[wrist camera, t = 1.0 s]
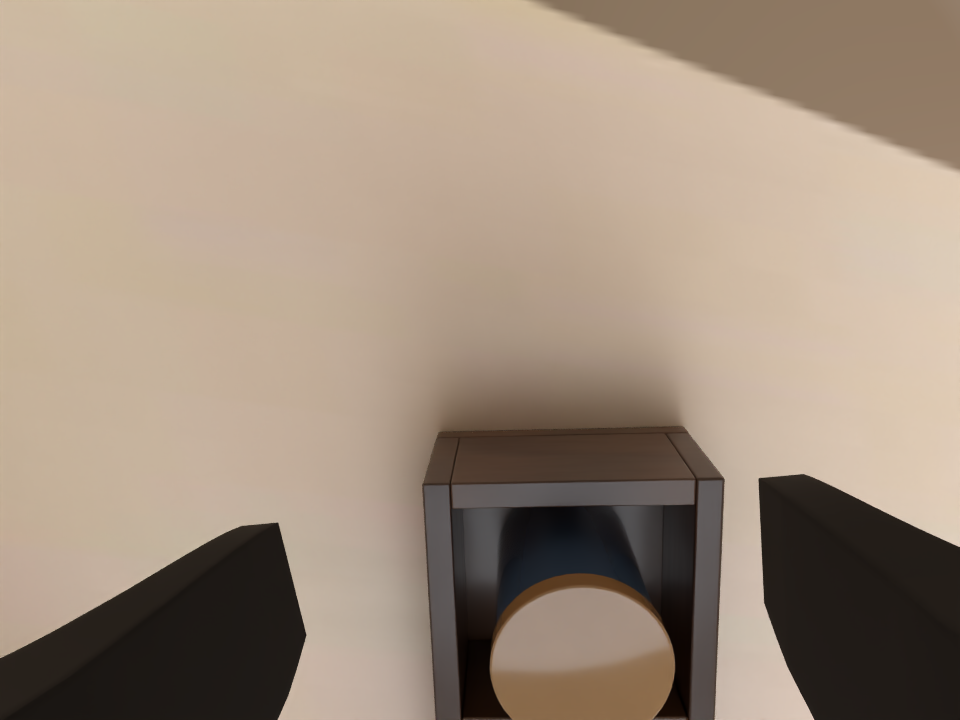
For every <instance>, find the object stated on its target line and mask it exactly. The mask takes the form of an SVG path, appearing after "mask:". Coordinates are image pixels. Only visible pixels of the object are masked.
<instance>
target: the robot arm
mask: <svg viewBox="0 0 960 720" xmlns="http://www.w3.org/2000/svg"><path fill="white" fill-rule="evenodd" d="M759 500H760V521H761V543H762V565H763V586H764V604H765V606H766V609H767V612H768V615H769V618H770V621H771V623H772V626H773V629H774V632H775V635H776V638H777V640H778V643H779V645H780V648H781V651H782V653H783V656H784V659H785V661H786V664H787V667H788V669H789V671H790V673H791V675H792V677H793V679H794V681H795V683H796V684H797V686H798V688H799V690H800V692H801V694H802V696H803V698H804V700H805V702H806V704H807V706H808V708H809V710H810V712H811V714H812V716H813V718H814V719H815V720H960V547H958V546H956V545H953V544H951V543H949V542H947V541H944V540H942V539H940V538H938V537H936V536H933V535H931V534H929V533H927V532H925V531H923V530H920V529H918V528H916V527H914V526H912V525H910V524H908V523H906V522H904V521H902V520H899V519H897V518H895V517H893V516H891V515H889V514H887V513H885V512H883V511H881V510H879V509H877V508H875V507H873V506H871V505H869V504H867V503H865V502H863V501H861V500H859V499H857V498H855V497H853V496H851V495H849V494H847V493H845V492H843V491H841V490H839V489H837V488H835V487H832V486H830V485H828V484H826V483H824V482H822V481H820V480H817V479H815V478H813V477H810V476H807V475H804V474H800V475H789V476H778V477H768V478H759ZM305 638H306V632H305V628H304V624H303V620H302V616H301V612H300V608H299V604H298V600H297V596H296V592H295V588H294V584H293V580H292V576H291V572H290V568H289V564H288V560H287V556H286V552H285V548H284V544H283V540H282V536H281V532H280V528H279V524H278V523H269V524H258V525H247V526H240V527H238V528H236V529H233V530H231V531H229V532H226V533H224V534H222V535H220V536H219V537H217V538H215V539H213V540H211V541H209V542H207V543H206V544H204V545H202V546H200V547H199V548H197V549H195V550H193V551H192V552H190V553H188V554H186V555H185V556H183V557H181V558H180V559H178V560H176V561H175V562H173V563H171V564H170V565H168V566H166V567H165V568H163V569H161V570H160V571H158V572H156V573H155V574H153V575H151V576H150V577H148V578H146V579H145V580H143V581H141V582H139V583H138V584H136V585H134V586H133V587H131V588H129V589H128V590H126V591H124V592H123V593H121V594H119V595H117V596H116V597H114V598H112V599H110V600H109V601H107V602H105V603H103V604H101V605H100V606H98V607H96V608H94V609H93V610H91V611H89V612H87V613H85V614H84V615H82V616H80V617H78V618H76V619H75V620H73V621H71V622H69V623H68V624H66V625H64V626H62V627H60V628H59V629H57V630H55V631H53V632H51V633H50V634H48V635H46V636H44V637H42V638H40V639H38V640H36V641H34V642H32V643H30V644H28V645H26V646H24V647H22V648H20V649H18V650H17V651H15V652H13V653H11V654H8V655H6V656H4V657H2V658H0V720H278V717H279V715H280V713H281V711H282V708H283V706H284V704H285V702H286V699H287V697H288V694H289V691H290V688H291V685H292V682H293V679H294V676H295V673H296V670H297V666H298V663H299V659H300V656H301V652H302V649H303V645H304V642H305Z"/></svg>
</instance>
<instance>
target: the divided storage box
mask: <svg viewBox="0 0 960 720" xmlns="http://www.w3.org/2000/svg"><path fill="white" fill-rule="evenodd" d="M724 482H725V480H724V478H723V476H722V475H721V474H720V472H719V471H718V470H717V469H716V467H715V466H714V465H713V464H712V462H711V461H710V460H709V458H708V457H707V456H706V455H705V453H704V452H703V451H702V450H701V448H700V447H699V446H698V445H697V443H696V442H695V441H694V439H693V438H692V437H691V436H690V434H689V433H688V432H687V430H686V429H685V428H684V427H642V428H597V429H553V430H508V431H463V432H439V433H438V435H437V438H436V441H435V444H434V448H433V451H432V454H431V458H430V461H429V464H428V468H427V471H426V474H425V478H424V481H423V484H422V489H423V507H424V524H425V542H426V559H427V577H428V594H429V612H430V629H431V646H432V664H433V681H434V699H435V716H436V720H512V719H511V718H510V716H509V715H508V714H507V713H506V712H505V710H504V709H503V707H502V706H501V704H500V702H499V701H498V699H497V697H496V694H495V692H494V689H493V686H492V682H491V676H490V647H491V640H492V635H493V632H494V629H495V618H496V583H497V549H498V541H499V536H500V533H501V530H502V528H503V526H504V524H505V522H506V521H507V519H508V518H509V516H510V515H511V514H512V513H513V512H514V511H515V510H516V509H517V508H534V507H591V506H608V507H610V508H611V509H612V510H613V511H614V512H615V513H616V515H617V516H618V517H619V519H620V520H621V522H622V523H623V525H624V527H625V530H626V532H627V535H628V538H629V541H630V543H631V546H632V549H633V552H634V555H635V557H636V560H637V563H638V566H639V568H640V571H641V574H642V577H643V579H644V582H645V585H646V588H647V590H648V593H649V596H650V599H651V602H652V604H653V607H654V608H655V609H656V611H657V612H658V613H659V615H660V617H661V619H662V621H663V622H664V625H665V627H666V630H667V633H668V635H669V638H670V641H671V644H672V647H673V652H674V657H675V673H674V680H673V684H672V688H671V691H670V693H669V696H668V698H667V700H666V702H665V703H664V705H663V707H662V708H661V710H660V711H659V712H658V714H657V715H656V716H655V717H654V718H653V719H652V720H715V697H716V673H717V649H718V625H719V602H720V578H721V554H722V530H723V506H724Z"/></svg>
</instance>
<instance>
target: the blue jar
mask: <svg viewBox="0 0 960 720" xmlns="http://www.w3.org/2000/svg"><path fill="white" fill-rule="evenodd" d="M674 673H675V657H674V652H673V647H672V644H671V641H670V638H669V635H668V633H667V630H666V627H665V625H664V622H663V621H662V619H661V617H660V615H659V613H658V612H657V611H656V609H655V608H654V607H653V604H652V602H651V599H650V596H649V593H648V590H647V588H646V585H645V582H644V579H643V577H642V574H641V571H640V568H639V566H638V563H637V560H636V557H635V555H634V552H633V549H632V546H631V543H630V541H629V538H628V535H627V532H626V530H625V527H624V525H623V523H622V522H621V520H620V519H619V517H618V516H617V515H616V513H615V512H614V511H613V510H612V509H611V508H610V507H608V506H591V507H534V508H517V509H516V510H515V511H514V512H513V513H512V514H511V515H510V516H509V518H508V519H507V521H506V522H505V524H504V526H503V528H502V530H501V533H500V536H499V541H498V549H497V583H496V618H495V629H494V632H493V635H492V640H491V647H490V676H491V682H492V686H493V689H494V692H495V694H496V697H497V699H498V701H499V702H500V704H501V706H502V707H503V709H504V710H505V712H506V713H507V714H508V715H509V716H510V718H511V719H512V720H652V719H653V718H654V717H655V716H656V715H657V714H658V712H659V711H660V710H661V708H662V707H663V705H664V703H665V702H666V700H667V698H668V696H669V693H670V691H671V688H672V684H673V680H674Z"/></svg>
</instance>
